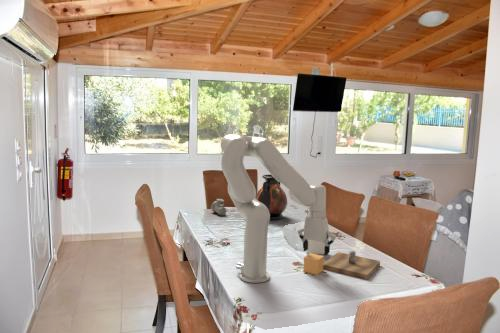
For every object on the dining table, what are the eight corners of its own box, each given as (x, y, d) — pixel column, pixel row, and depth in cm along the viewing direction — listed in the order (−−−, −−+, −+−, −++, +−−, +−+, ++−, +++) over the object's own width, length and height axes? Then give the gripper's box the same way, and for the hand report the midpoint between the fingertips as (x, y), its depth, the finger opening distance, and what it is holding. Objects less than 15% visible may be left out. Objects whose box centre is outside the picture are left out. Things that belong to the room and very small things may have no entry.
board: (321, 268, 175) (322, 253, 174) (338, 256, 192) (338, 242, 191) (367, 279, 164) (368, 263, 163) (379, 265, 181) (380, 250, 180)
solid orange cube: (303, 271, 171) (304, 257, 170) (309, 267, 176) (310, 253, 175) (317, 275, 167) (317, 260, 166) (322, 270, 173) (323, 256, 172)
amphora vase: (266, 212, 277) (267, 172, 273) (292, 217, 264) (294, 175, 261) (247, 217, 260) (249, 175, 256) (275, 223, 247) (277, 179, 244)
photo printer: (306, 254, 192) (307, 230, 191) (305, 251, 197) (306, 227, 195) (327, 255, 192) (329, 230, 191) (326, 252, 196) (327, 228, 195)
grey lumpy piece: (209, 211, 271) (211, 197, 269) (220, 211, 275) (222, 197, 273) (216, 217, 261) (218, 203, 259) (227, 217, 264) (229, 203, 263)
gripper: (294, 213, 170) (294, 251, 172) (332, 218, 161) (331, 258, 163) (302, 209, 176) (301, 246, 179) (339, 214, 167) (338, 253, 169)
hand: (316, 252), depth 171 cm, fingers open, 9 cm apart
